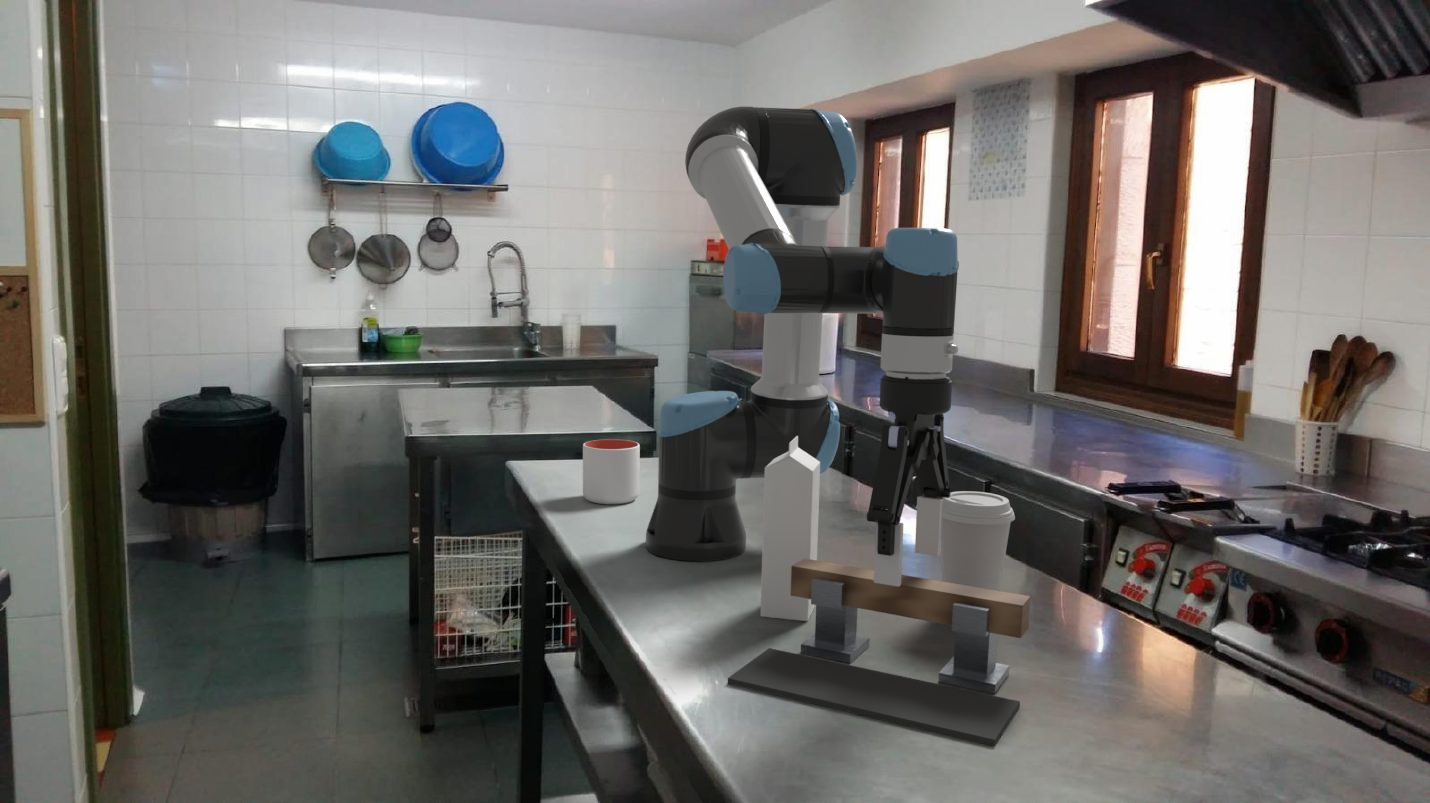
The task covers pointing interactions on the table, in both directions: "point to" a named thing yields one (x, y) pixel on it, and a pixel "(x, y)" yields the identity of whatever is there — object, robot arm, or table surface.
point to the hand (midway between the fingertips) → (908, 568)
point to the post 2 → (973, 651)
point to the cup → (611, 471)
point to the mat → (879, 695)
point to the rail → (914, 596)
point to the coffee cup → (974, 538)
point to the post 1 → (833, 624)
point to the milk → (788, 530)
